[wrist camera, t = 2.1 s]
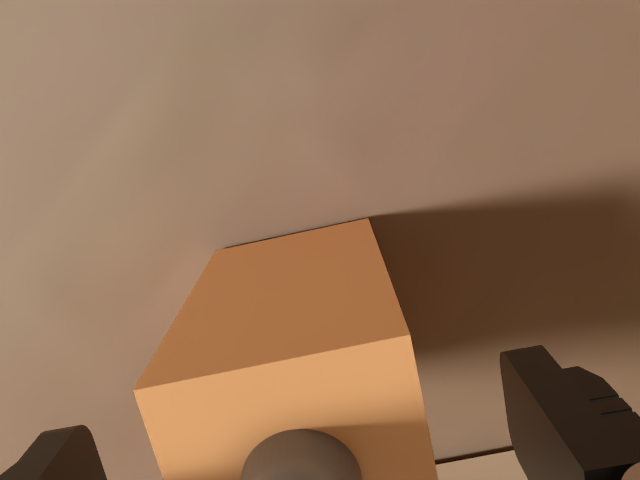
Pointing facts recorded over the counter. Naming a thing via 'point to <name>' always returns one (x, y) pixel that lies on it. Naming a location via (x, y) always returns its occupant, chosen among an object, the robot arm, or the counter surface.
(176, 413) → the block
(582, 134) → the counter surface
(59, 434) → the robot arm
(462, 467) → the power strip
